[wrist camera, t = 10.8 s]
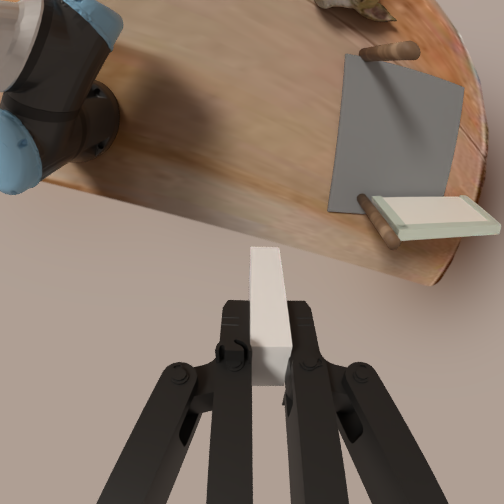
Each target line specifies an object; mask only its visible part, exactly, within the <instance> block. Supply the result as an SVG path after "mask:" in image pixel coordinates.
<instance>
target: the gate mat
mask: <svg viewBox="0 0 504 504" xmlns="http://www.w3.org/2000/svg"><path fill="white" fill-rule="evenodd" d="M463 95H464V87H462V86H459V85H457V84H454V83H451V82H449V81H446V80H443V79H440V78H437V77H435V76H432V75H429V74H426V73H422V72H419V71H416V70H413V69H409V68H406V67H402V66H399V65H395V64H391V63H387V62H383V61H372V62H366V61H364V60H362V58H361V57H360V56H356V55H351V54H345V64H344V77H343V89H342V100H341V110H340V120H339V129H338V137H337V145H336V153H335V161H334V168H333V176H332V183H331V189H330V196H329V202H328V209H327V211H331V212H345V213H359V214H366V213H365V212H364V210H363V209H362V207H361V206H360V205H359V203H358V202H357V196H358V195H359V194H362V193H363V194H365V195H366V196H367V197H368V198H369V200H370V201H371V200H372V196H382V197H443V196H444V192H445V189H446V185H447V181H448V177H449V173H450V169H451V164H452V160H453V155H454V150H455V145H456V140H457V135H458V129H459V123H460V117H461V111H462V103H463Z"/></svg>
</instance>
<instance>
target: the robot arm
mask: <svg viewBox="0 0 504 504" xmlns="http://www.w3.org/2000/svg"><path fill="white" fill-rule="evenodd" d="M122 29H123V20H122V18H121V16H120V15H119V14H117V13H116V12H114V11H113V10H111V9H110V8H108V7H106V6H105V5H103V4H101V3H99V2H97V1H96V0H20V1H18V2H16V3H15V2H8V1H0V92H4V93H3V97H2V100H1V103H0V191H1V192H3V193H5V194H9V195H16V194H20V193H22V192H24V191H26V190H27V189H29V188H33V187H35V186H36V185H37V184H38V183H39V182H40V181H42V180H43V179H44V178H46V177H47V176H49V175H50V174H52V173H53V172H55V171H56V170H58V169H59V168H61V167H62V166H64V165H66V164H67V163H69V162H85V161H89V160H92V159H94V158H95V157H97V156H99V155H100V154H102V153H103V152H104V151H106V150H107V149H108V148H109V146H110V145H111V144H112V142H113V141H114V139H115V137H116V134H117V131H118V127H119V119H120V115H119V108H118V104H117V101H116V99H115V96H114V95H113V93H112V92H111V91H110V89H109V88H108V87H107V86H105V85H104V84H103V83H101V82H99V81H96V80H95V79H96V77H97V75H98V73H99V71H100V69H101V67H102V66H103V64H104V62H105V60H106V58H107V57H108V55H109V53H110V52H112V50H113V45H114V44H115V42H116V40H117V38H118V36H119V35H120V33H121V31H122ZM215 353H216V358H215V359H214V360H213V361H212V362H210V363H208V364H205V365H202V366H198V367H192V366H191V365H189V364H187V363H182V362H177V363H173V364H171V365H169V366H167V367H166V369H165V370H164V371H163V373H162V375H161V377H160V378H159V380H158V382H157V384H156V386H155V388H154V390H153V392H152V394H151V396H150V398H149V400H148V401H147V403H146V406H145V407H144V409H143V411H142V413H141V415H140V417H139V419H138V421H137V423H136V425H135V427H134V429H133V431H132V433H131V435H130V437H129V439H128V441H127V443H126V445H125V447H124V449H123V451H122V453H121V455H120V457H119V459H118V461H117V463H116V465H115V467H114V469H113V471H112V473H111V475H110V477H109V479H108V481H107V483H106V485H105V487H104V489H103V491H102V493H101V495H100V497H99V500H98V502H97V504H166V503H167V500H168V498H169V495H170V492H171V490H172V488H173V485H174V483H175V480H176V478H177V476H178V473H179V471H180V468H181V465H182V463H183V461H184V458H185V455H186V453H187V450H188V448H189V445H190V443H191V441H192V438H193V436H194V433H195V431H196V428H197V425H198V423H199V420H200V418H201V415H202V413H203V412H208V411H212V423H211V436H210V437H211V438H210V451H209V467H208V483H207V502H206V503H207V504H253V486H252V485H253V484H252V483H253V476H252V474H253V473H252V386H283V385H284V382H285V388H286V390H285V394H284V398H283V403H282V405H285V413H286V429H287V444H288V460H289V476H290V494H291V504H349V501H348V493H347V485H346V478H345V471H344V464H343V458H342V451H341V444H340V438H339V432H338V429H339V431H340V434H341V436H342V438H343V440H344V442H345V445H346V447H347V449H348V451H349V454H350V456H351V458H352V460H353V462H354V465H355V467H356V469H357V471H358V473H359V475H360V478H361V480H362V482H363V485H364V487H365V489H366V491H367V493H368V496H369V498H370V500H371V502H372V504H448V502H447V500H446V498H445V496H444V494H443V492H442V490H441V488H440V486H439V484H438V482H437V480H436V478H435V476H434V474H433V472H432V470H431V468H430V467H429V465H428V463H427V461H426V459H425V457H424V455H423V453H422V452H421V450H420V448H419V446H418V444H417V442H416V441H415V439H414V437H413V435H412V434H411V432H410V430H409V428H408V426H407V424H406V423H405V421H404V419H403V417H402V416H401V414H400V412H399V410H398V408H397V407H396V405H395V403H394V402H393V400H392V398H391V396H390V395H389V393H388V391H387V390H386V388H385V386H384V384H383V383H382V381H381V380H380V378H379V376H378V374H377V373H376V371H375V370H374V368H373V367H372V366H370V365H369V364H367V363H363V362H355V363H352V364H351V365H349V366H348V368H347V367H342V366H338V365H334V364H332V363H329V362H328V361H326V360H325V359H324V358H323V357H322V355H321V353H320V351H319V346H318V341H317V336H316V331H315V326H314V321H313V317H312V312H311V308H310V307H309V306H308V304H307V303H306V302H305V301H287V300H286V292H285V285H284V278H283V270H282V263H281V256H280V249H279V247H250V273H249V301H243V300H228V301H227V302H226V304H225V305H224V307H223V312H222V322H221V333H220V342H219V343H218V344H217V346H216V349H215Z"/></svg>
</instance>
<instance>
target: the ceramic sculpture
mask: <svg viewBox="0 0 504 504" xmlns="http://www.w3.org/2000/svg"><path fill="white" fill-rule="evenodd" d="M379 1H380V0H315V2H316V3H317V5H318V6H319V7H321V8H325V9H327V8H330V7H333V6H335V7H337V6H339V7H345V8H354V9H355V10H356V11H357V12H359V13H360V14H361V15H362V16H364V17H366V18H368V19H370V20H373V21H378V22H388V21H397V20H396V19H395V18H394V17H392V16H391V15H390V13H389V12H388V11H387V10H386V8H385V7H384V6H382V5H381V4H379V3H378V2H379Z"/></svg>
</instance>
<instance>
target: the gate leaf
mask: <svg viewBox="0 0 504 504" xmlns="http://www.w3.org/2000/svg"><path fill="white" fill-rule="evenodd" d="M371 202H372V203H373V205H374V206H375V207H376V208H377V210H378V211H379V212H380V213H381V215H382V216H383V217H384V219H385V220H386V221H387V223H388V224H389V225H390V227H391V228H392V229H393V231H394V232H395V233H396V235H397V236H398V237H399V239H400V241H406V240H421V239H435V238H450V237H465V236H479V235H494V234H499V232H500V228H501V224H500V223H498V222H497V221H496V220H495V219H494V218H493V217H492V216H491V215H489V214H488V213H487V212H486V211H485V210H483V209H482V208H481V207H480V206H479V205H477V204H476V203H475V202H474V201H472V200H471V199H470V198H469V197H467V196H466V195H460V197H382V196H372V200H371Z"/></svg>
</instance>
